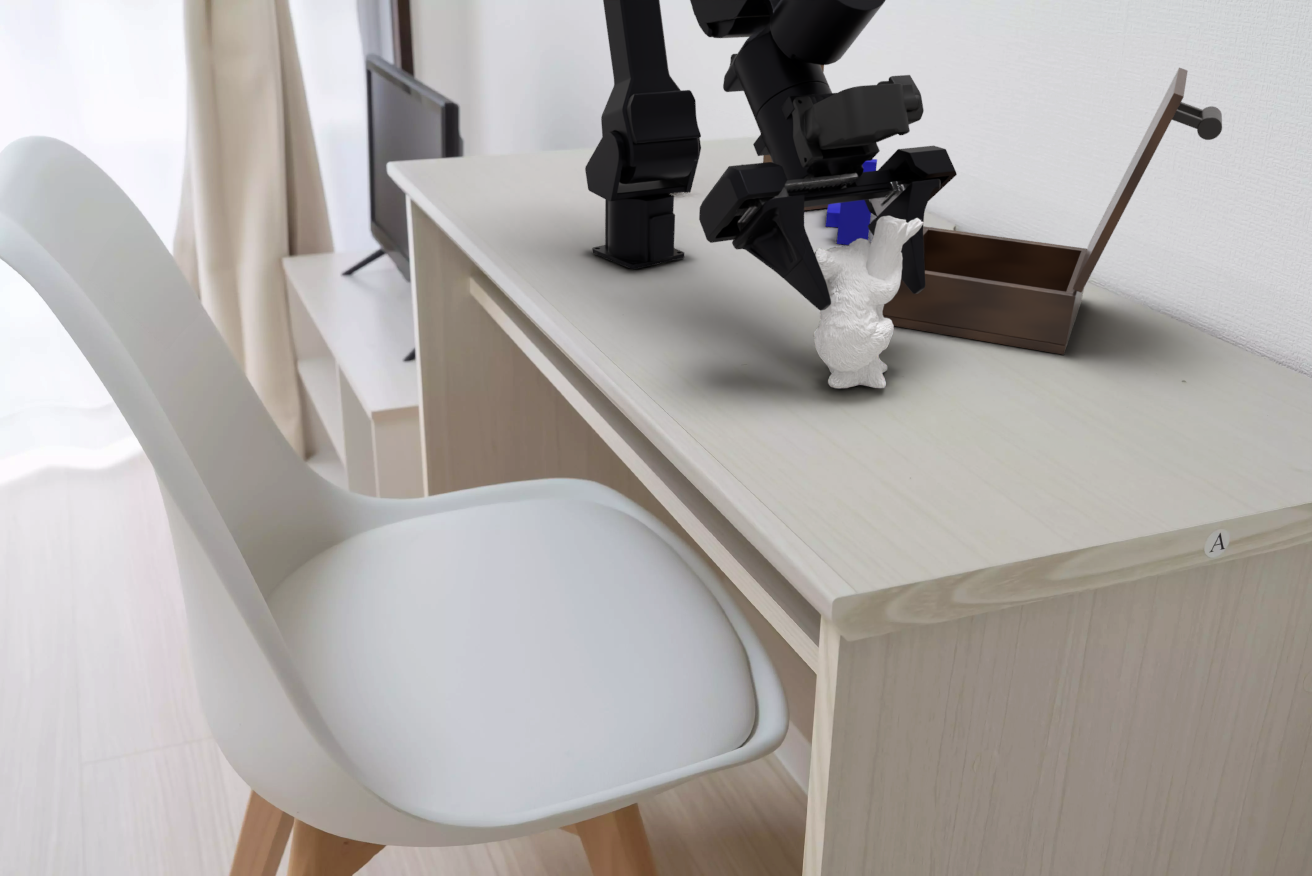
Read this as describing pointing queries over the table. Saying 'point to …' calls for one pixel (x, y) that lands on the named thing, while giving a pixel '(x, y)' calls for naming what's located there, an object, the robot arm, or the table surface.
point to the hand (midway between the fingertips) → (873, 299)
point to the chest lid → (1169, 109)
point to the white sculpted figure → (861, 303)
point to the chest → (993, 290)
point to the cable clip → (851, 215)
